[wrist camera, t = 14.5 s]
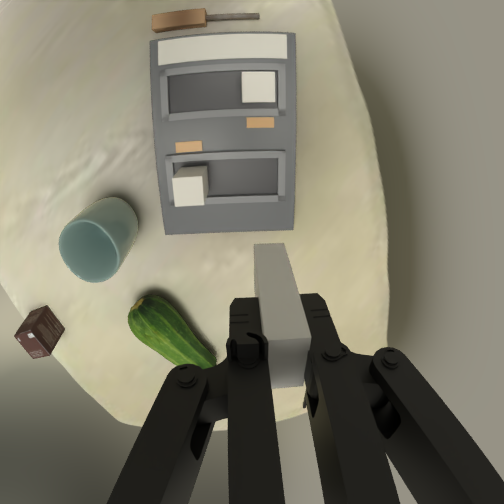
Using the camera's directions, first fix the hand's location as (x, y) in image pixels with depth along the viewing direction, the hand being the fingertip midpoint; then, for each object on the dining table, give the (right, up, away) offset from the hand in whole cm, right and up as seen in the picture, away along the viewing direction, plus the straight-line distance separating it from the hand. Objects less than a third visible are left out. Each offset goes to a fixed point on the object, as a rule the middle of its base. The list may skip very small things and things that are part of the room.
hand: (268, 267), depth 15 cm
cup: (-19, +5, +22) cm, 29 cm away
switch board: (-4, +15, +18) cm, 23 cm away
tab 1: (-7, +9, +18) cm, 21 cm away
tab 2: (0, +18, +13) cm, 22 cm away
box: (-40, -12, +30) cm, 51 cm away
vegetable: (-12, -12, +32) cm, 36 cm away
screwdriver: (-6, +27, +11) cm, 30 cm away
